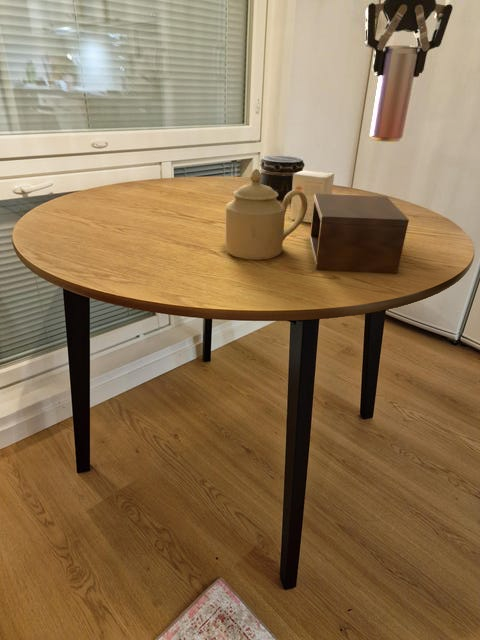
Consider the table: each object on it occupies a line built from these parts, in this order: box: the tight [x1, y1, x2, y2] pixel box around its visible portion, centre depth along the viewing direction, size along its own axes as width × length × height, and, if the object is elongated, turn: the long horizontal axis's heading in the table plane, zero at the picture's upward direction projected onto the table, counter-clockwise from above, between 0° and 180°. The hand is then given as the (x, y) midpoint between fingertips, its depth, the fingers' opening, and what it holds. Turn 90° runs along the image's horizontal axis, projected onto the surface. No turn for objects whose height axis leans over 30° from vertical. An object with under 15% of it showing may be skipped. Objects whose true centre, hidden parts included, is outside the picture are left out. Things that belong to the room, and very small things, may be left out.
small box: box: [290, 169, 335, 223], centre depth 98 cm, size 8×6×10 cm
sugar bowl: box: [224, 168, 307, 261], centre depth 79 cm, size 15×11×15 cm
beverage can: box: [369, 45, 418, 143], centre depth 77 cm, size 6×6×15 cm
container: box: [258, 155, 305, 200], centre depth 120 cm, size 13×13×10 cm
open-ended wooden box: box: [309, 194, 410, 274], centre depth 78 cm, size 14×16×9 cm
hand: (396, 76), depth 76 cm, fingers closed on beverage can, 6 cm apart
